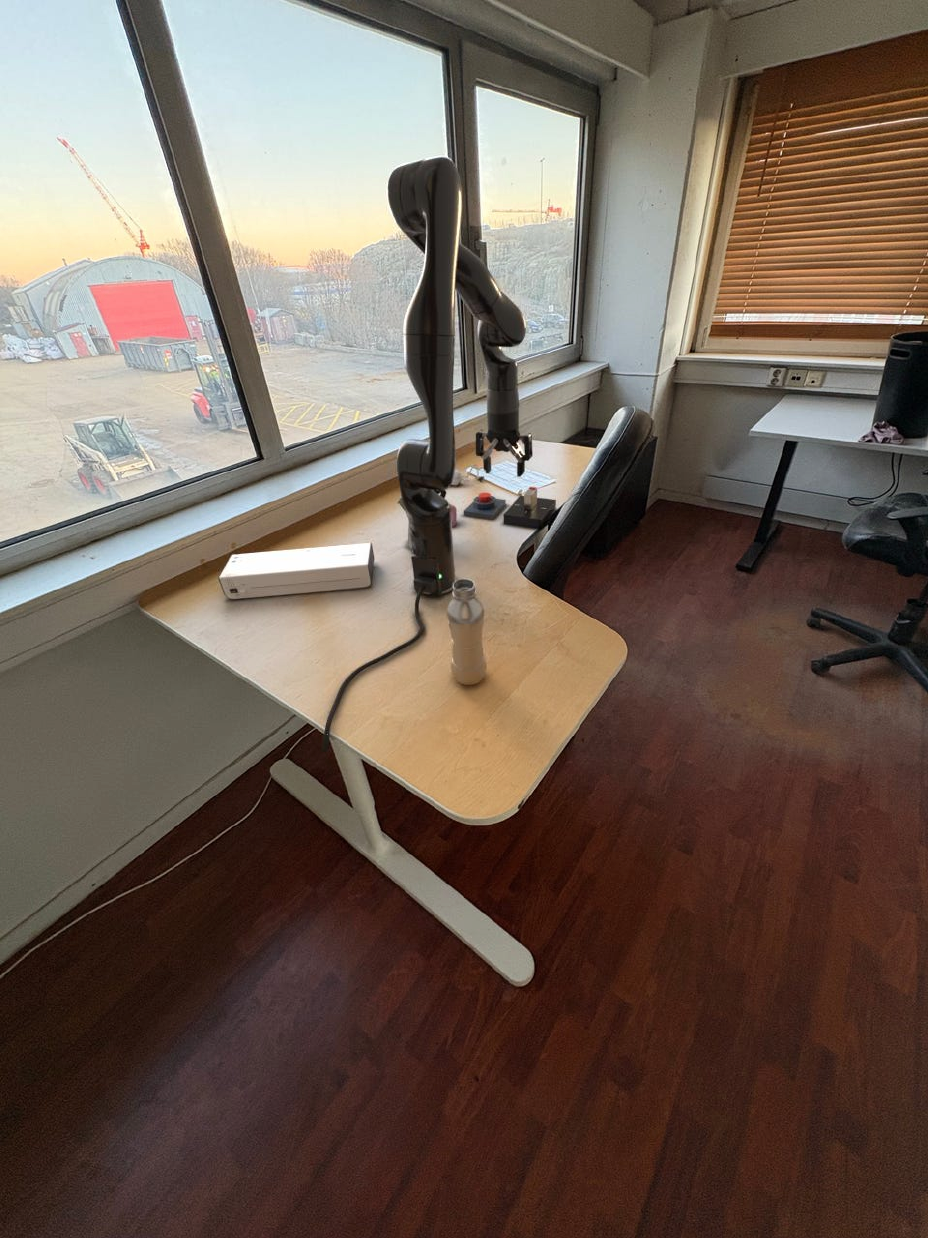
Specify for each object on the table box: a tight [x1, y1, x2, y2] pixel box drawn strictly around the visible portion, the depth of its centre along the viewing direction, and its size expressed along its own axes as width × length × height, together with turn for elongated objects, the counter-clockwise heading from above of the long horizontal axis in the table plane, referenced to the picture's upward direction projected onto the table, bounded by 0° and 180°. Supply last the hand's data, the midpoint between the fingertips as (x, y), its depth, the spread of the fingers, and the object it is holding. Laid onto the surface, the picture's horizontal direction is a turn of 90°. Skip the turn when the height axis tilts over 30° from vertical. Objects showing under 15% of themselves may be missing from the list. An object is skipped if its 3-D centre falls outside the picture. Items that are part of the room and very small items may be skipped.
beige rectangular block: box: [523, 486, 538, 511], centre depth 142 cm, size 5×2×5 cm, turn 156°
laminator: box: [217, 542, 375, 601], centre depth 120 cm, size 34×12×6 cm, turn 95°
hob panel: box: [503, 495, 557, 530], centre depth 144 cm, size 14×11×3 cm
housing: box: [463, 495, 507, 521], centre depth 149 cm, size 11×9×4 cm
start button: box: [478, 492, 492, 502], centre depth 148 cm, size 4×4×2 cm
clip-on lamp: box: [450, 463, 485, 486], centre depth 169 cm, size 12×6×18 cm
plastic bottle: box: [446, 578, 488, 686], centre depth 86 cm, size 6×7×20 cm
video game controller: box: [448, 502, 458, 528], centre depth 143 cm, size 10×5×7 cm, turn 84°
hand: (504, 473), depth 129 cm, fingers open, 8 cm apart
